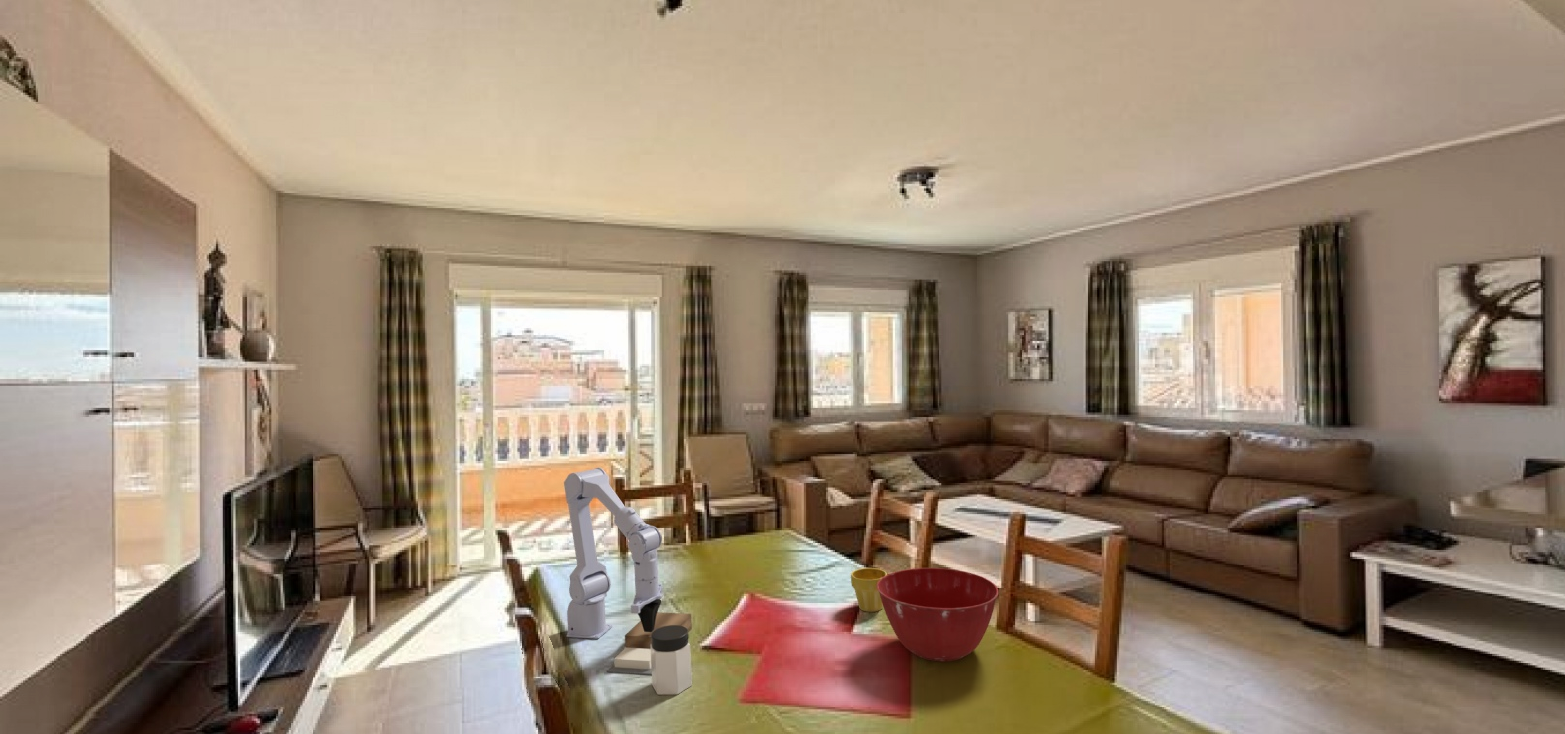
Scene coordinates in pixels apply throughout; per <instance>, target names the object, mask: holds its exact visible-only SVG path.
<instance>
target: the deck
mask: <svg viewBox="0 0 1565 734" xmlns="http://www.w3.org/2000/svg"><path fill="white" fill-rule="evenodd" d="M669 625H680V626H683V627H685V628H687V630H688V633H689V632H690V631H691V630H692V625H693V624H692V613H681V612H679V613H678V612H659V611H658V612H657V616H656V621H655V627H654V630H653V631H655V630H656V629H658V628H660V627H664V626H669ZM653 631H652V632H653ZM652 632H644V629H643V626H642V623H641V620H639V622H637V623H636V624H635V625H634V626H633V627H632V628H631V629H630V630H629V631H628V632H627V633H626V634H625V635H624V649H625V648H643V649H651V647H650V645H651V644H652V643H651V634H652Z"/></svg>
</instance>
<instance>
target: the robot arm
mask: <svg viewBox="0 0 1565 734" xmlns="http://www.w3.org/2000/svg"><path fill="white" fill-rule="evenodd" d="M563 486H564V491H565V500H566V504H567V507H568V512H569V513H568V514H569V521H570V526H571V533H572V541H573V547H574V552H575V554H574V555H575V559H576V567H575V568H574V569H573V570H572V572H571V573H570V574H569V587H568V592H569V596H570V599H571V600H570V601H569V604H568V606H567V611H566V617H567V618H566V619H567V634H566V638H578V639H583V638H584V639H600V638H601V637H602V636H603V635H604V634H605V633H607V631H609V630H611V628H612V627H613V624H607V623H606V621H607V620H606V619H607V618H606V603H605V602H606V600H605V598H606V597H607V596H608V594H607V593H608V592H609V591H610V589H611V586H612V585H611V578H610V576H609V574H608V571H607V567H606V565H605V564H603V563H601V562H599V560H598V555H597V550H596V549H597V548H596V543H595V542H596V541H595V535H594V531H593V530H594V529H593V523H592V517H591V516H592V515H591V509H590V503H591V502H592V500H593V499H594V498H596V499H597V500H598V501H599V502H600V503H601V505H603V506H604V507H605V508H606V509H607V510H608V511H609V512H610V513H611V514H612V515H613V516H614V519H613V523H614V524H615V526H616V527H617V528H618V529H619V531H620V532H621V533H622V534H623V535H624V537H625V538H626V539H627V540H628V542H627V546H628V549H629V552H630V554H631V559H632V561H633V562H634V563H633V565H634V567H633V569H634V584H635V586H634V587H635V589H634V590H635V591H634V592H635V595H634V598H633V601H632V603H631V605H630V612H631V614H637V615H638V617H639V621H641V623H642V626H643V629H644V632H652V631H653V630H654V627H655V621H656V616H657V612H659V609H660V606H661V604H662V600H661V599H662V598H664V594H663V590H664V587H663V584H660V583H659V568H658V567H659V566H658V550H657V549H658V548H660V546H661V544H662V536H661V532H660V531H659V530H658V528H657V527H656V526H654V525H651V524H647V523H646V522H645V521H644V520H643V519H642V517H641V516H640V515H639V514H638V513H637V512H636V510H635V509H634V508H633V507H630V506H628V507H627V506H625V505H624V503H623V502H622V500H621V499H620V498H619V496H618V494H617V493H616V492H615V491H614V490H613V488H612V486H611V485H610V476H609V474H607V472H606V471H605V470H604V469H603V468H602V467H595V468H593V469H588V470H582V471H578V472H571V473H569V474H568V475H567V477H566V478H565V480H564V482H563Z"/></svg>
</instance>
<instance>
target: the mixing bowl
mask: <svg viewBox="0 0 1565 734" xmlns="http://www.w3.org/2000/svg"><path fill="white" fill-rule="evenodd" d="M877 590H878V591H879V593H880V597H881V600H882V604H883V607H882V608H884V613H885V615H886V617H887V619H888V622H889V623H890V624H889V625H890V627H891V628H892V630H893V632H894V634H895V635H896V637H897V639H898V640H899V642H900V643H901V644H902V646H904V648H906V650H908V651H910V652H912V654H914V655H915V656H917V657H919V658H922V659H924V660H929V661H932V662H953V661H957V660H960V659H962V658H964V657H966V656H967V655H968V656H969V654H971V653H972V652H973V651H974V650H976V649H977V648H978V646H979V645H980V643H981V641H982V640H983V637H984V636H985V633H986V632H987V630H988V627H989V624H990V622H991V619H992V616H993V613H994V609H995V604H996V602H997V601H996V600H997V598H998V596H999V589H998V587H997V585H996V584H995V583H994V582H992V580H989V579H988V578H986V577H984V576H982V575H979V574H975V573H973V572H968V571H963V570H959V569H952V568H942V567H917V568H907V569H903V570H902V569H901V570H898V571H893V572H891V573H889V574H888V573H887V575H886V576H884V577H882V578H881V579H880V580H879V581H878V583H877Z"/></svg>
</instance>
